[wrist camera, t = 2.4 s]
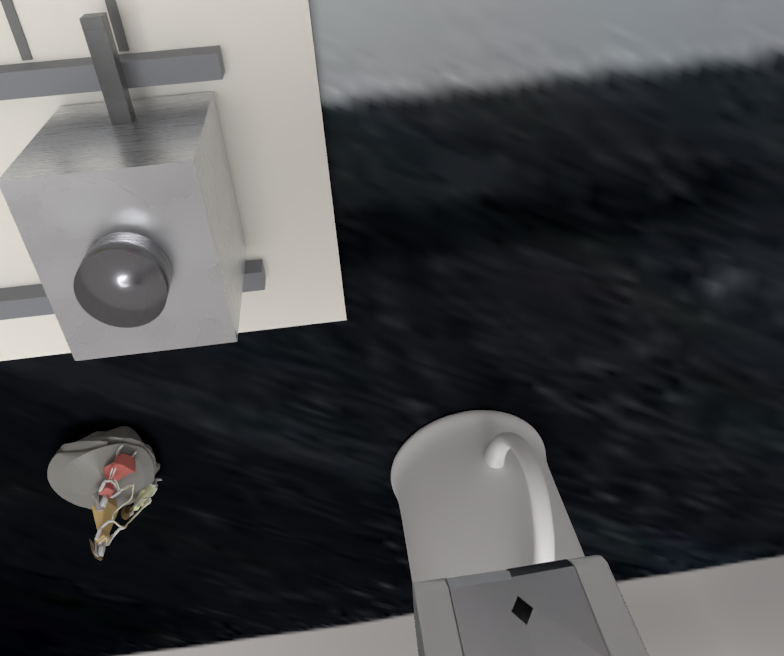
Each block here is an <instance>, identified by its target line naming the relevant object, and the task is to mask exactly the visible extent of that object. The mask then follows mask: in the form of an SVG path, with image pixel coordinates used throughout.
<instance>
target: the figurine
mask: <svg viewBox="0 0 784 656" xmlns="http://www.w3.org/2000/svg"><path fill="white" fill-rule="evenodd" d="M159 469H160V464H159V463H157V462H156V460H155V455H154V453H153V451H152V448H151V446H149V445H147V444H144V443H143V441H142V440H141V438H140V437H139V436H138V434H137V433H136V432H135V431H134V430H133V429H131V428H130V427H128V426H121V427H118V428H115V429H112V430H109V431H107V432H106V431H96V432H94V433H92V434H90V435H89V436H87V437H84V438H82V439H80V440H78V441H76V442H72V443H66V444H63V445H62V446H61V447H60V448H59V449H58V451H57V452H56V454H55V455H54V457H53V458H52V460H51V462H50V464H49V467H48V480H49V483H50V485H51V487H52V488H53V489H54V491H55V492H56V493H57V494H58V495H60V496H61V497H62V498H64V499H65V500H67V501H69V502H71V503H73V504H75V505H78V506H81V507H85V508H89V509H92V510H93V514H94V519H95V523H96V527H97V534H96V536H95V538H94V541H93V544H94V545H93V544H92V542H91V540H90V546H91V550H92V553H93V554H94V557H95V558H96V559H98V560H102V559H103V555H104V553H105V547H106V546H108V545H109V544H110V543H111V541H112V540H113V538H114V537H115V536H116V534H117V533H118V532H119V531H120V530H123V529H125V528H126V527H127V525H128V524H129V523H130V522H131V521H132V520H133V519H134V518H135V517H136V516H137V515H138V514H139V513H140V512H141V510H142V509H143V508H144V507H146V506H147V505H148V504H150V503H151V501H152V500H151V498H150V497H151V496H153V495H154V493H155V492H156V491H157V487H156V486H158V485H157V481H162V479H155V480H154V476H155V474H156V473H157V471H158V470H159ZM153 482H154V483H153ZM147 499H149V500H147ZM146 500H147V501H146ZM145 501H146V502H145ZM148 501H150V502H149V503H148ZM133 502H134V505H133V506H132V508H131V503H133ZM129 504H130V507H127V506H126V505H129ZM122 506H123V508H121V507H122ZM140 506H142V508H141V509H140V510H139V511H138V512H137V513H136V514H135V515H134V516H133V517H132V518H131V520H130V521H129V522H128V523H127V524H126V525H125V526H120V525H119V524H118V523H117V522H115V521H114V520H115V518H116V515H117V513H118V510H119V509H120V508H121V509H122V510H121V516H122V518H123V519H125V520H127V519H128V518H129V517H130V516H131V515H133V514H134V511H136V510H138V509H139V508H140ZM118 507H119V508H118ZM125 507H127V508H126V510H125ZM130 508H131V509H130ZM113 523H115V524H116V525H117V526H119V528H118V529H117V530H116V531H115V533H114V534H112V535H111V536H110V534H109V533H110V530H111V528H112V525H113ZM92 546H93V547H92Z"/></svg>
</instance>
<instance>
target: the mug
mask: <svg viewBox="0 0 784 656" xmlns="http://www.w3.org/2000/svg"><path fill="white" fill-rule="evenodd" d="M391 484H392V488H393V491H394V494H395V496H396V498H397V499H398V502H399V507H400V512H401V517H402V522H403V528H404V534H405V540H406V546H407V552H408V558H409V564H410V570H411V576H412V582H413V583H415V582H421V581H427V580H434V579H440V578H451V577H458V576H465V575H472V574H478V573H485V572H492V571H499V570H507V569H510V568H516V567H522V566H528V565H534V564H540V563H546V562H552V561H558V560H564V559H567V560H568V559H574V558H580V557H585V556H584V553H583V551H582V549H581V546H580V544H579V541H578V539H577V536H576V534H575V532H574V529H573V527H572V524H571V522H570V519H569V517H568V514H567V512H566V510H565V507H564V505H563V502H562V500H561V497H560V495H559V493H558V490H557V488H556V485H555V483H554V480H553V478H552V475H551V473H550V470H549V467H548V464H547V461H546V452H545V447H544V444H543V441H542V439H541V437H540V436H539V434H538V433H537V431H536V430H535V429H534V428H533V427H532V426H531V425H530V424H528V423H527V422H526V421H524V420H522V419H520V418H518V417H516V416H514V415H511V414H508V413H504V412H499V411H492V410H473V411H465V412H459V413H455V414H452V415H448V416H445V417H443V418H440V419H438V420H435V421H433V422H431V423H429V424H428V425H426V426H424V427H423V428H421V429H420V430H418V431H417V432H416V433H414V434H413V435H412V436H411V437H410V438H409V439H408V440H407V441H406V442H405V443H404V444H403V445H402V447H401V448H400V450H399V451H398V453H397V455H396V456H395V459H394V461H393V464H392V468H391Z"/></svg>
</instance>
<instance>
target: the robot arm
mask: <svg viewBox="0 0 784 656" xmlns="http://www.w3.org/2000/svg"><path fill="white" fill-rule="evenodd" d="M412 585H413V602H414V619H415V629H416V637H417V646H418V654H419V656H649V655H648V652H647V650H646V648H645V646H644V643H643V641H642V639H641V637H640V635H639V632H638V630H637V628H636V626H635V623H634V621H633V619H632V617H631V614H630V612H629V610H628V608H627V605H626V603H625V601H624V599H623V597H622V594H621V592H620V590H619V588H618V585H617V583H616V581H615V579H614V577H613V574H612V572H611V570H610V568H609V565H608V563H607V562H606V561H605V559H604V558H603V557H602V556H600V555H593V556H587V557H580V558H574V559H568V560H567V559H564V560H558V561H552V562H546V563H540V564H534V565H528V566H522V567H516V568H510V569H507V570H499V571H492V572H485V573H478V574H472V575H465V576H458V577H451V578H440V579H434V580H427V581H421V582H415V583H412Z"/></svg>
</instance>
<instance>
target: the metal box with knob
mask: <svg viewBox="0 0 784 656" xmlns="http://www.w3.org/2000/svg"><path fill="white" fill-rule="evenodd" d="M79 19H80V23H81V26H82V29H83V32H84V36H85V39H86V42H87V45H88V49H89V52H90V55H91V58H92V61H93V65H94V68H95V71H96V74H97V78H98V81H99V84H100V87H101V91H102V94H103V97H104V100H105V102H98V103H87V104H77V105H66V106H60V107H59V108H58V109H57V110H56V112H55V113H54V114H53V115H52V116H51V118H50V119H49V120H48V121H47V122H46V123H45V125H44V126H43V127H42V128H41V129H40V131H39V132H38V133H37V134H36V135H35V136H34V138H33V139H32V140H31V141H30V142H29V144H28V145H27V146H26V147H25V148H24V149H23V151H22V152H21V153H20V154H19V155H18V157H17V158H16V159H15V160H14V161H13V163H12V164H11V165H10V166H9V167H8V168H7V170H6V171H5V172H4V173H3V174H2V176H1V177H0V189H1V191H2V194H3V196H4V198H5V200H6V203H7V205H8V207H9V210H10V212H11V214H12V217H13V219H14V221H15V223H16V226H17V228H18V230H19V233H20V235H21V237H22V240H23V242H24V244H25V247H26V249H27V251H28V253H29V256H30V258H31V260H32V263H33V265H34V267H35V270H36V272H37V274H38V276H39V279H40V281H41V283H42V286H43V288H44V290H45V293H46V295H47V297H48V300H49V302H50V304H51V306H52V309H53V311H54V313H55V316H56V318H57V320H58V323H59V325H60V327H61V330H62V332H63V334H64V336H65V339H66V341H67V343H68V346H69V348H70V350H71V353H72V355H73V357H74V359H75V361H79V360H88V359H96V358H105V357H113V356H121V355H130V354H138V353H146V352H155V351H163V350H172V349H180V348H188V347H197V346H205V345H213V344H222V343H230V342H237V338H238V329H239V319H240V309H241V299H242V289H243V279H244V270H245V260H246V250H247V248H246V243H245V238H244V234H243V229H242V224H241V219H240V215H239V210H238V205H237V200H236V196H235V191H234V186H233V182H232V177H231V172H230V167H229V163H228V158H227V153H226V149H225V144H224V139H223V134H222V130H221V125H220V120H219V116H218V111H217V106H216V101H215V97H214V92H203V93H192V94H182V95H171V96H161V97H150V98H140V99H131V97H130V94H129V90H128V87H127V83H126V80H125V76H124V73H123V69H122V66H121V62H120V59H119V55H118V52H117V48H116V45H115V41H114V38H113V34H112V31H111V27H110V24H109V20H108V17H107V13H106V12H102V13H91V14H84V15H83V16H82V17H81V18H79Z"/></svg>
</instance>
